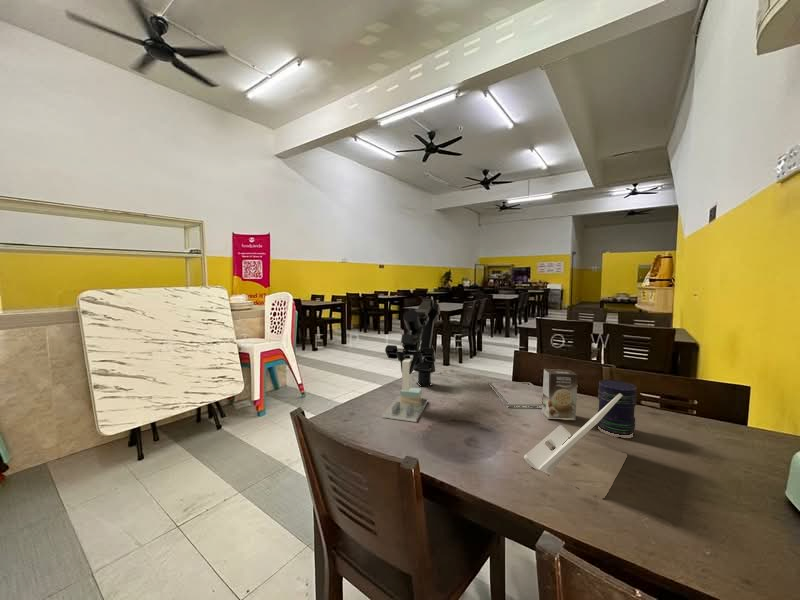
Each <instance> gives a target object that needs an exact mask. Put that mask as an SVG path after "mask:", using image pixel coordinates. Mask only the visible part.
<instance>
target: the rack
mask: <svg viewBox="0 0 800 600" xmlns="http://www.w3.org/2000/svg"><path fill="white" fill-rule="evenodd" d="M428 402H429V399H428V398H423V397H421V400H420V402H419V403H411V402H403V401H401V395H398V396H397V397H396V398H395V399H394V400H393V401H392V403H391V404H390V405H388V407H387V408H386V410H385V411H384V412H383V413H382V414H381V415H382V416H381V417H382V418H384V419H392V420H398V421H405V422H412V423H417V422H418V420H419V419H420V416H421V415H422V413H423V411H424V410H425V407H426V406H427V404H428Z"/></svg>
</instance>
